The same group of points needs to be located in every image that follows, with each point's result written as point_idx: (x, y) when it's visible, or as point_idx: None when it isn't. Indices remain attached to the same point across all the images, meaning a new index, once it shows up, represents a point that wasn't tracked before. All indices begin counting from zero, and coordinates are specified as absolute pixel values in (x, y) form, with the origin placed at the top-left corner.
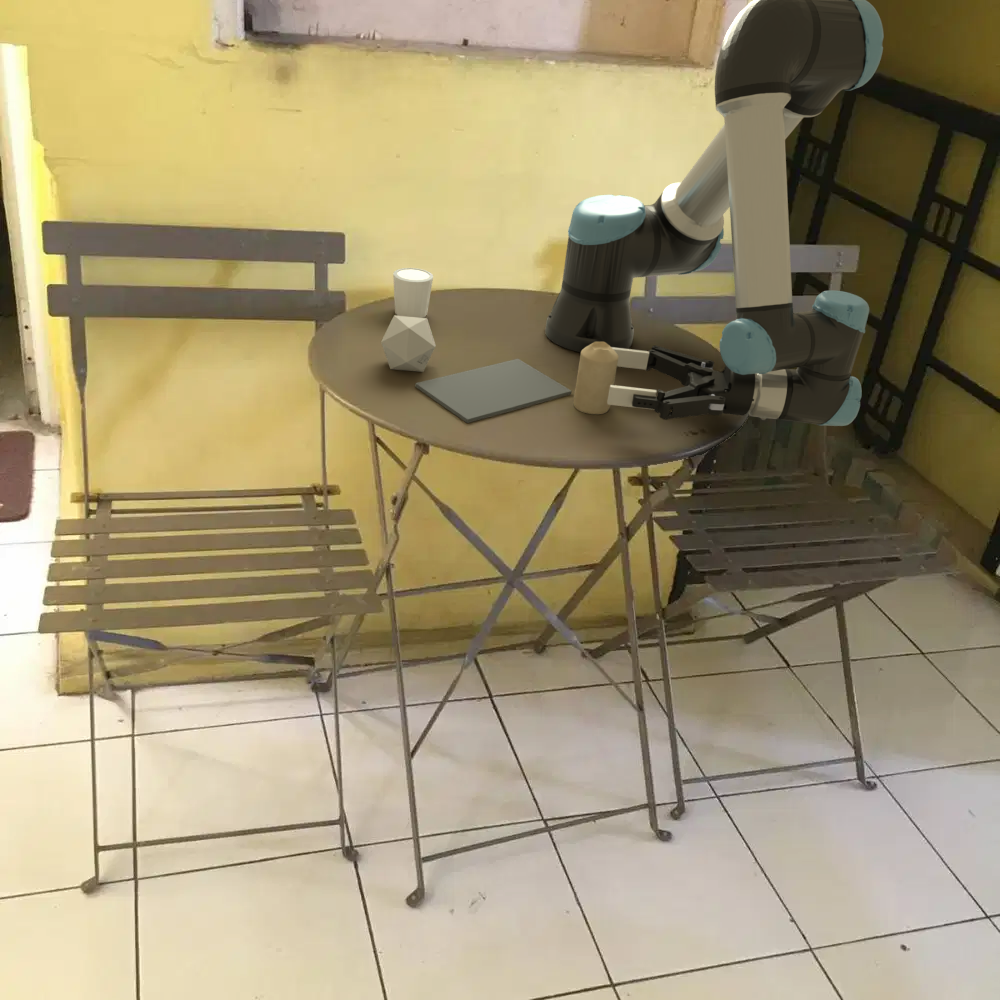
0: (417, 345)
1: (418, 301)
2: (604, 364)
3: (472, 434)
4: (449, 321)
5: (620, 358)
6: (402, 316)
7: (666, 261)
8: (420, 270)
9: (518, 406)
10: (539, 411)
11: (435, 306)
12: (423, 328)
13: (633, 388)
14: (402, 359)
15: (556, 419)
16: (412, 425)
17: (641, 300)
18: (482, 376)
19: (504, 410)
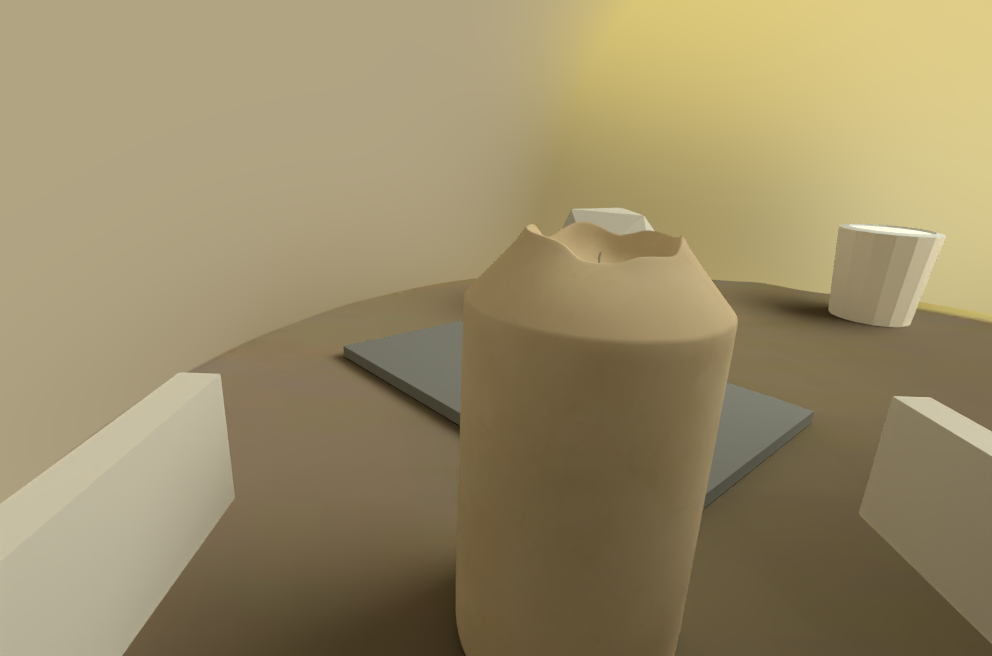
0: None
1: (857, 279)
2: (466, 319)
3: (281, 361)
4: (907, 344)
5: (969, 533)
6: (624, 209)
7: None
8: (932, 233)
9: (447, 409)
10: (444, 457)
11: (958, 333)
12: (607, 224)
13: (77, 469)
14: None
15: (382, 495)
16: (334, 316)
17: None
18: None
19: (412, 389)
